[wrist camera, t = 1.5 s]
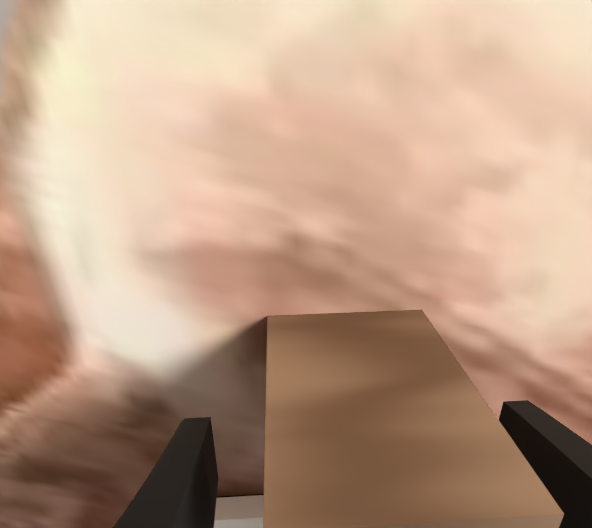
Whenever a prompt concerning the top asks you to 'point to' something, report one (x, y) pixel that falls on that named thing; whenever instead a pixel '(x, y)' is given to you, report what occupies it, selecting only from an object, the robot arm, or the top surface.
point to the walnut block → (385, 432)
